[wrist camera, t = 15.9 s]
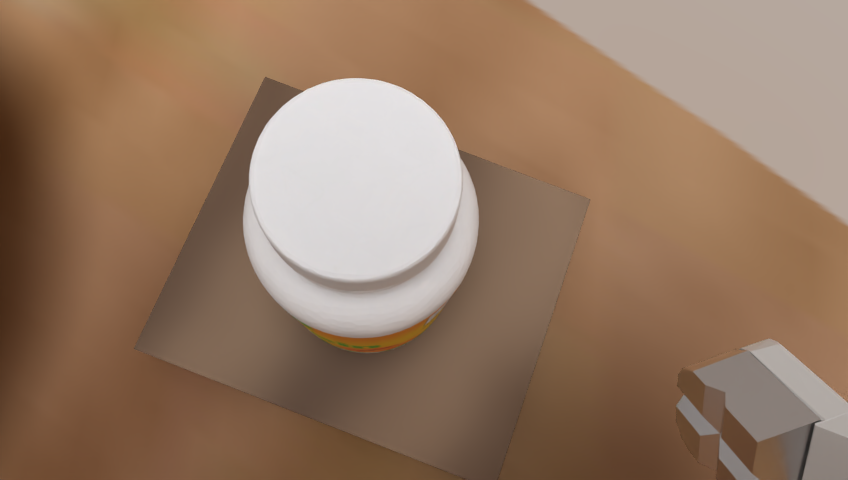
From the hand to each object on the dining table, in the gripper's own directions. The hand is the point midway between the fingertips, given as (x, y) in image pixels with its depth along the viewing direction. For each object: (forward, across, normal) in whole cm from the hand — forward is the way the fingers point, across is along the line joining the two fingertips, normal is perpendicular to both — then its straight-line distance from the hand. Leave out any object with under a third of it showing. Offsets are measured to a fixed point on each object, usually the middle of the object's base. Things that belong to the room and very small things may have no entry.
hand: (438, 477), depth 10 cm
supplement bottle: (+12, 0, +4) cm, 12 cm away
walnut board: (+12, 0, +5) cm, 13 cm away
